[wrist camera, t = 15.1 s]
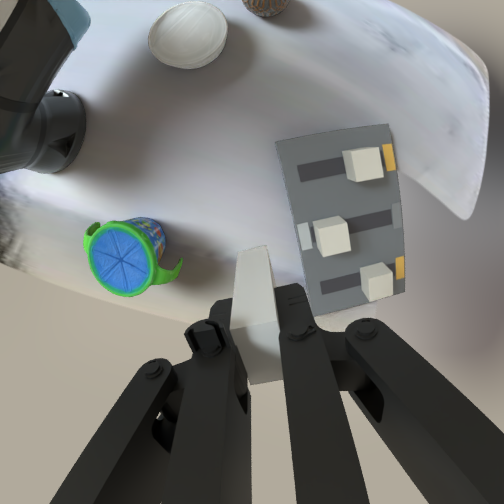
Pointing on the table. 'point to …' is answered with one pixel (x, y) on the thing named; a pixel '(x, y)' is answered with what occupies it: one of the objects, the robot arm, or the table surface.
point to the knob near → (363, 164)
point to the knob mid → (332, 236)
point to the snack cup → (128, 255)
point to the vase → (265, 6)
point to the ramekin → (188, 35)
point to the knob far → (376, 281)
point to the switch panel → (343, 213)
